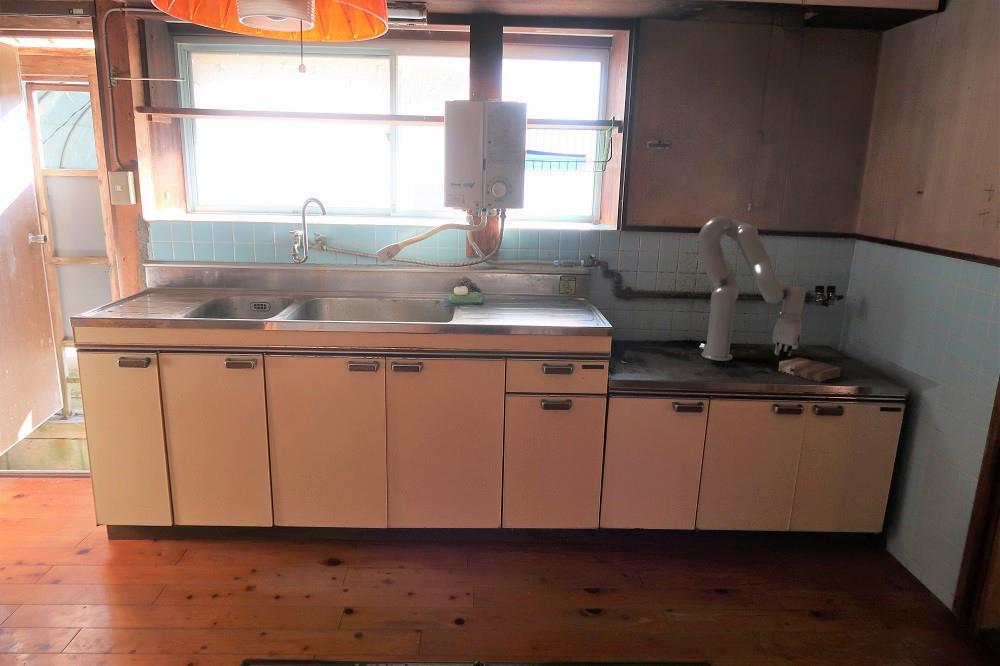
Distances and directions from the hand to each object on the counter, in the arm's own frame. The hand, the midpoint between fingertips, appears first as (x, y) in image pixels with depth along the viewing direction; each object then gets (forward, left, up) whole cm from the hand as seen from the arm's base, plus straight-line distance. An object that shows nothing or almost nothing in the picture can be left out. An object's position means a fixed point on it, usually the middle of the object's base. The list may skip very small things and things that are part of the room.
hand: (782, 359), depth 269 cm
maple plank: (+5, 0, -3) cm, 6 cm away
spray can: (-11, +17, -3) cm, 21 cm away
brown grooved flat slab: (+15, 0, -3) cm, 15 cm away
